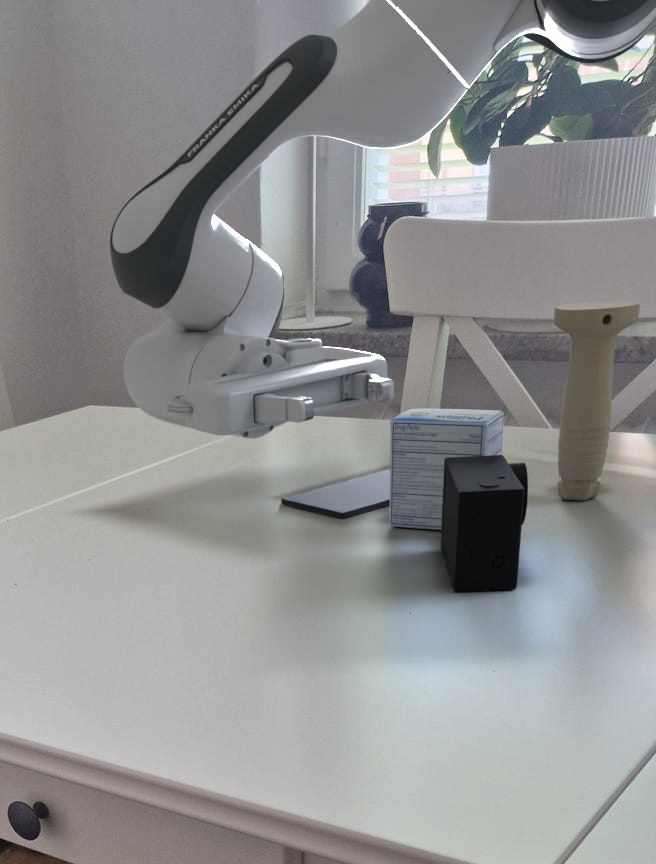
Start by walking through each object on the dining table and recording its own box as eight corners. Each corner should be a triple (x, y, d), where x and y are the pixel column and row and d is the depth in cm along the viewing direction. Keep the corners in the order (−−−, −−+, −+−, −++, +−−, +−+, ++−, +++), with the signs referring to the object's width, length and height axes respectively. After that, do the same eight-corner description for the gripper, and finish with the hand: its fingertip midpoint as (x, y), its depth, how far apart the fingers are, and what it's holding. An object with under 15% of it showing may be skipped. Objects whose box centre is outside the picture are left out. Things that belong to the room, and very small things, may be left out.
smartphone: (391, 473, 111) (391, 468, 111) (455, 485, 106) (455, 480, 105) (281, 504, 105) (280, 498, 104) (343, 518, 99) (342, 513, 99)
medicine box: (499, 521, 95) (506, 409, 91) (481, 535, 92) (488, 421, 87) (407, 514, 99) (410, 406, 94) (387, 528, 96) (389, 417, 91)
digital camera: (534, 590, 80) (543, 486, 76) (454, 593, 81) (459, 490, 77) (512, 546, 89) (520, 452, 85) (440, 549, 89) (444, 456, 86)
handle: (625, 500, 97) (649, 304, 90) (549, 507, 97) (567, 311, 90) (604, 487, 101) (625, 298, 94) (531, 493, 101) (546, 305, 94)
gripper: (152, 368, 102) (253, 381, 92) (324, 335, 112) (431, 343, 102) (158, 442, 105) (257, 462, 96) (324, 404, 115) (429, 418, 105)
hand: (348, 400), depth 99 cm, fingers open, 8 cm apart
